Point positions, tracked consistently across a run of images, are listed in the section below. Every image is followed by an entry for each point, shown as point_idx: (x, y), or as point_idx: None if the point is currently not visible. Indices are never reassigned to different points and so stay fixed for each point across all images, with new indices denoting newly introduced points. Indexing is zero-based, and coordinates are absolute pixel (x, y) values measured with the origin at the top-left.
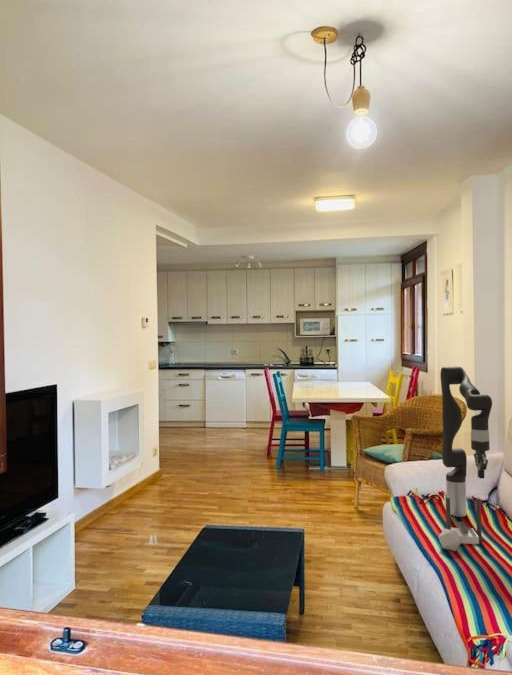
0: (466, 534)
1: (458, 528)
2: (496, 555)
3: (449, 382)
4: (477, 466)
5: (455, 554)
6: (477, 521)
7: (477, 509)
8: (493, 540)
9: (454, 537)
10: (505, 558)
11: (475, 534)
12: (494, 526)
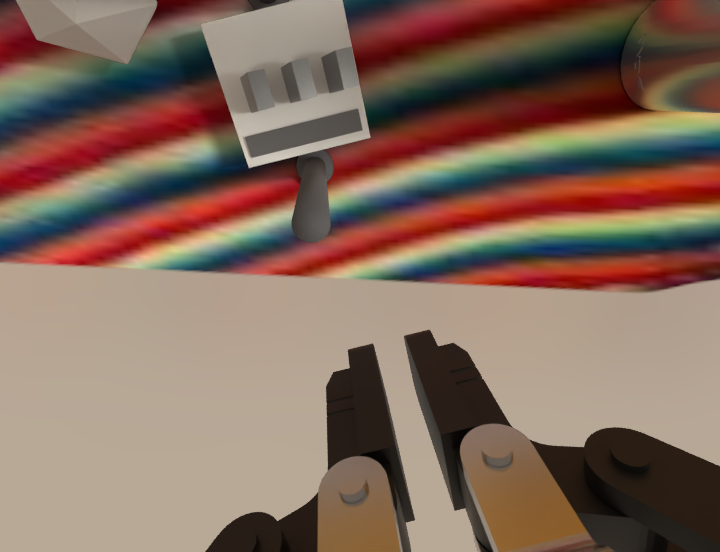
0: None
1: None
2: (149, 232)
3: None
4: (481, 480)
5: None
6: (303, 175)
7: (298, 194)
8: None
9: (26, 9)
10: (135, 265)
11: (272, 151)
12: (504, 240)
